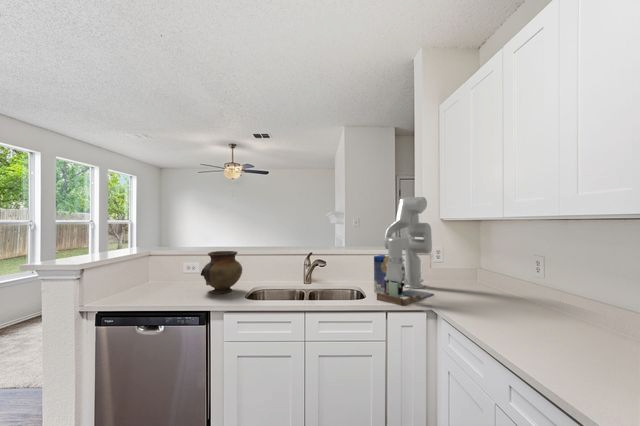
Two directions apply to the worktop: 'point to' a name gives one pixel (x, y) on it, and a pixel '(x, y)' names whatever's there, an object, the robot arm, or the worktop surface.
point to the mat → (416, 293)
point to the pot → (222, 271)
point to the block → (394, 289)
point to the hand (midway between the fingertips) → (395, 293)
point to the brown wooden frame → (397, 299)
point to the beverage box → (380, 274)
